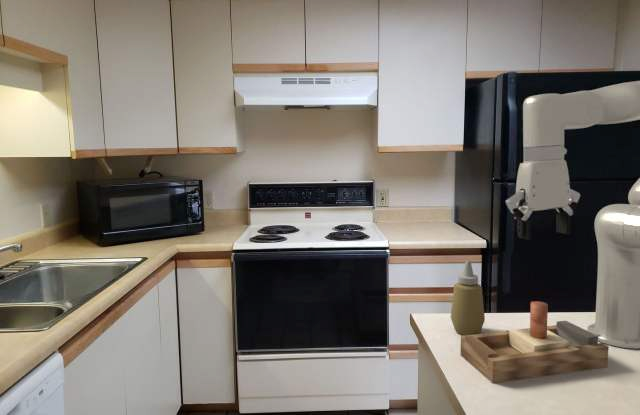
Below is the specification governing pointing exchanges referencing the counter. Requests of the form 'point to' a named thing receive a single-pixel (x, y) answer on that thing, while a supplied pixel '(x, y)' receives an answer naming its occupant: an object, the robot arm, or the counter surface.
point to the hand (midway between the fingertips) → (543, 235)
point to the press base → (533, 354)
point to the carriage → (536, 333)
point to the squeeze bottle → (467, 303)
